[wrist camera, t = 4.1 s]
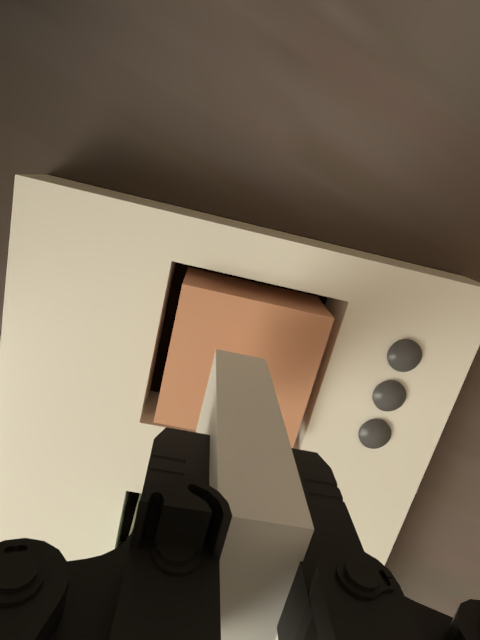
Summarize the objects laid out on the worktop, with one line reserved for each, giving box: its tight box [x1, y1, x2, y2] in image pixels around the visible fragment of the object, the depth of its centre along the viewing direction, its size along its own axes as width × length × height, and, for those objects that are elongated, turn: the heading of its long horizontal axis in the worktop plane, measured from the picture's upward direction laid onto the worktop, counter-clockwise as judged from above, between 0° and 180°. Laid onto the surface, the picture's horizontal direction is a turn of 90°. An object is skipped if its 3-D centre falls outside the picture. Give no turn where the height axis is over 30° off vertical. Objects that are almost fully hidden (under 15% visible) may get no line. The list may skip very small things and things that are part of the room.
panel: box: [0, 174, 480, 640], centre depth 19 cm, size 16×27×3 cm, turn 166°
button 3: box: [154, 267, 335, 448], centre depth 16 cm, size 5×5×3 cm
